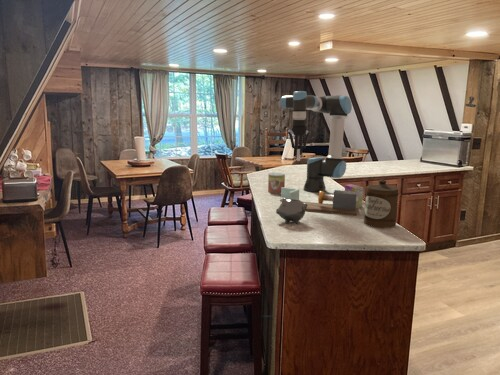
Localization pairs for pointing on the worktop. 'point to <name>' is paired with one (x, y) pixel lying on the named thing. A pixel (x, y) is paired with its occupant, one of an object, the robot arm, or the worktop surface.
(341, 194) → the housing
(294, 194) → the l-shaped corner panel
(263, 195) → the worktop surface
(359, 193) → the box
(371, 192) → the wooden container
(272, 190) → the canned food
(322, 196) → the shaft
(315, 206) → the base board
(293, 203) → the piggy bank
